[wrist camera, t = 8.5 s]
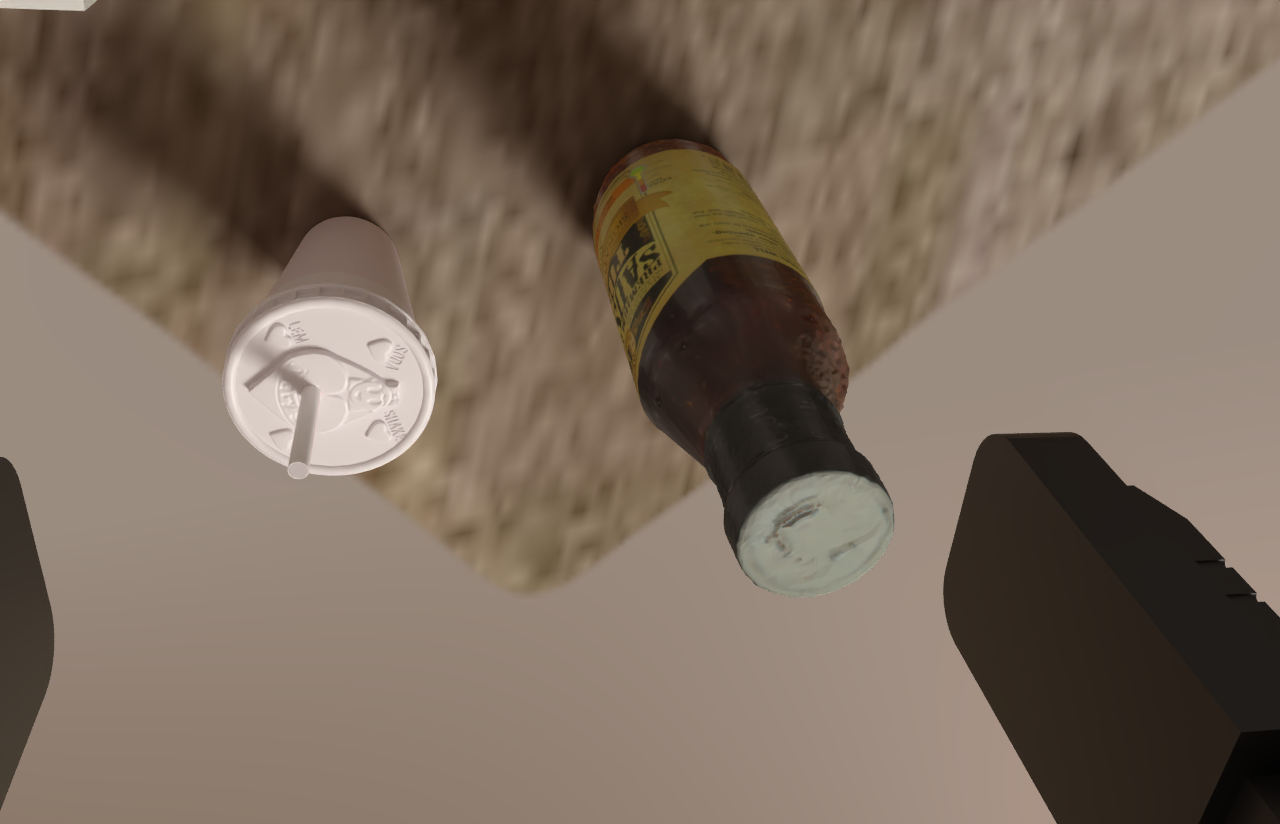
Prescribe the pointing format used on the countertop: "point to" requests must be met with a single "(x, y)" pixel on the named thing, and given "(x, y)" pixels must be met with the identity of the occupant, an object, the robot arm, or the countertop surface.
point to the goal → (48, 4)
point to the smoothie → (333, 358)
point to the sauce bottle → (739, 365)
